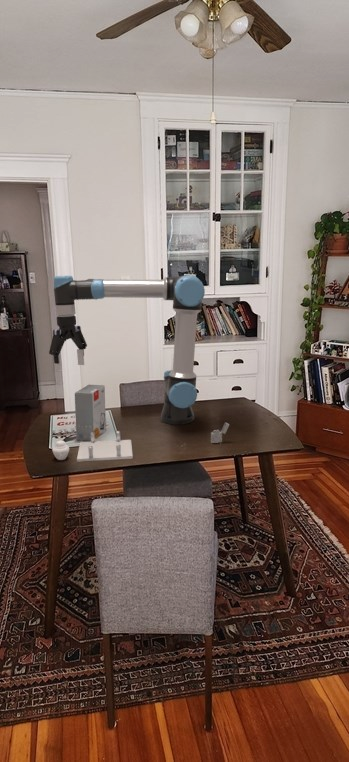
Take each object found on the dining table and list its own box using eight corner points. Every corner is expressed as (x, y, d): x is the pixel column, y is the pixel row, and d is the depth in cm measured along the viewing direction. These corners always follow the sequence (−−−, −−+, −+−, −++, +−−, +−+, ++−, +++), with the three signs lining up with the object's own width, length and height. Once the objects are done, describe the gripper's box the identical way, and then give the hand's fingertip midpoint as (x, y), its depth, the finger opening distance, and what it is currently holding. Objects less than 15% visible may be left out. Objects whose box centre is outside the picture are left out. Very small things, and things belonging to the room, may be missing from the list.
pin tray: (131, 442, 196) (130, 430, 194) (132, 458, 179) (132, 445, 177) (80, 444, 193) (79, 432, 192) (77, 461, 176) (76, 448, 175)
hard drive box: (93, 441, 196) (91, 393, 192) (76, 440, 198) (73, 393, 193) (106, 429, 211) (104, 384, 207) (90, 428, 213) (87, 383, 208)
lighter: (212, 444, 192) (212, 424, 191) (210, 442, 194) (210, 423, 192) (229, 442, 194) (229, 423, 192) (227, 441, 196) (228, 422, 194)
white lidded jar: (49, 460, 178) (48, 442, 176) (59, 454, 183) (57, 436, 182) (64, 462, 176) (62, 444, 174) (73, 456, 181) (72, 438, 180)
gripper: (78, 312, 206) (82, 361, 211) (36, 318, 185) (41, 373, 190) (93, 312, 202) (96, 362, 207) (51, 319, 181) (56, 375, 186)
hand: (70, 368), depth 198 cm, fingers open, 13 cm apart
